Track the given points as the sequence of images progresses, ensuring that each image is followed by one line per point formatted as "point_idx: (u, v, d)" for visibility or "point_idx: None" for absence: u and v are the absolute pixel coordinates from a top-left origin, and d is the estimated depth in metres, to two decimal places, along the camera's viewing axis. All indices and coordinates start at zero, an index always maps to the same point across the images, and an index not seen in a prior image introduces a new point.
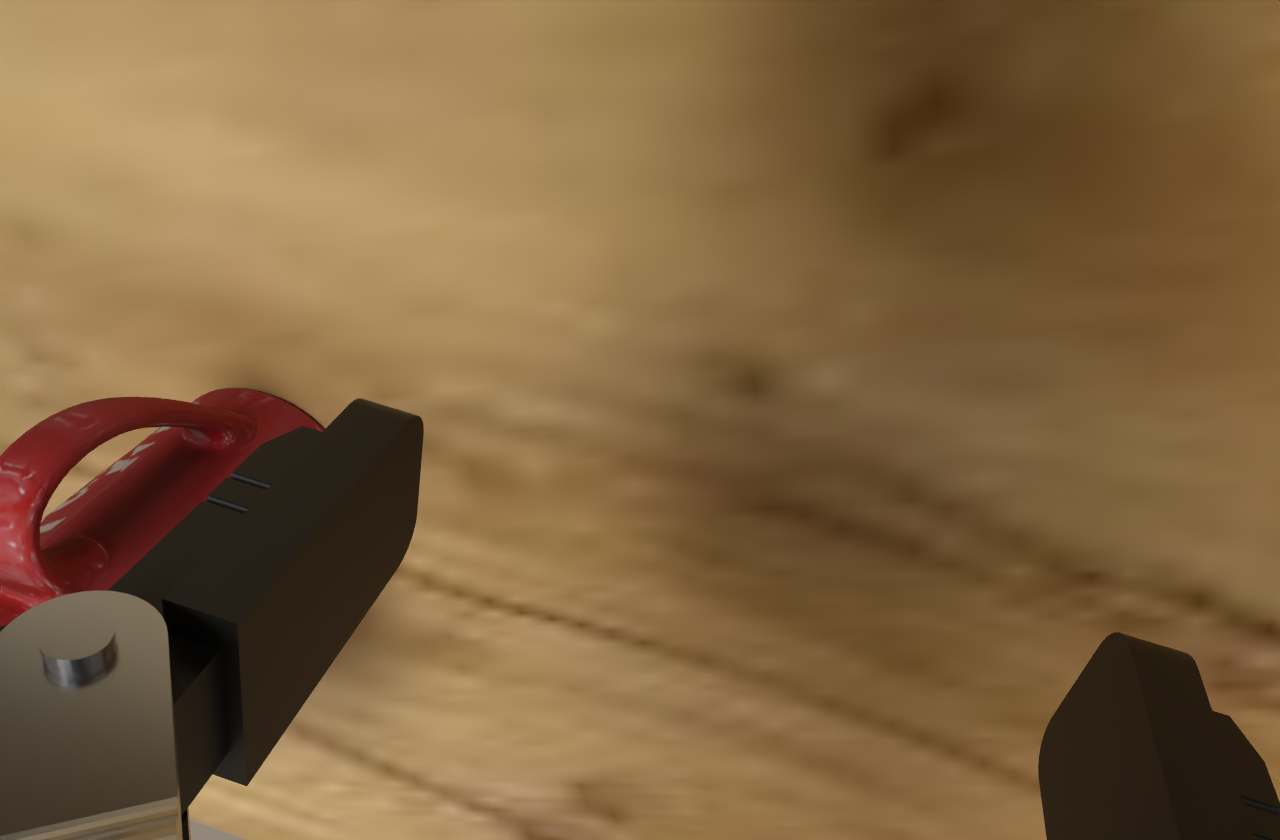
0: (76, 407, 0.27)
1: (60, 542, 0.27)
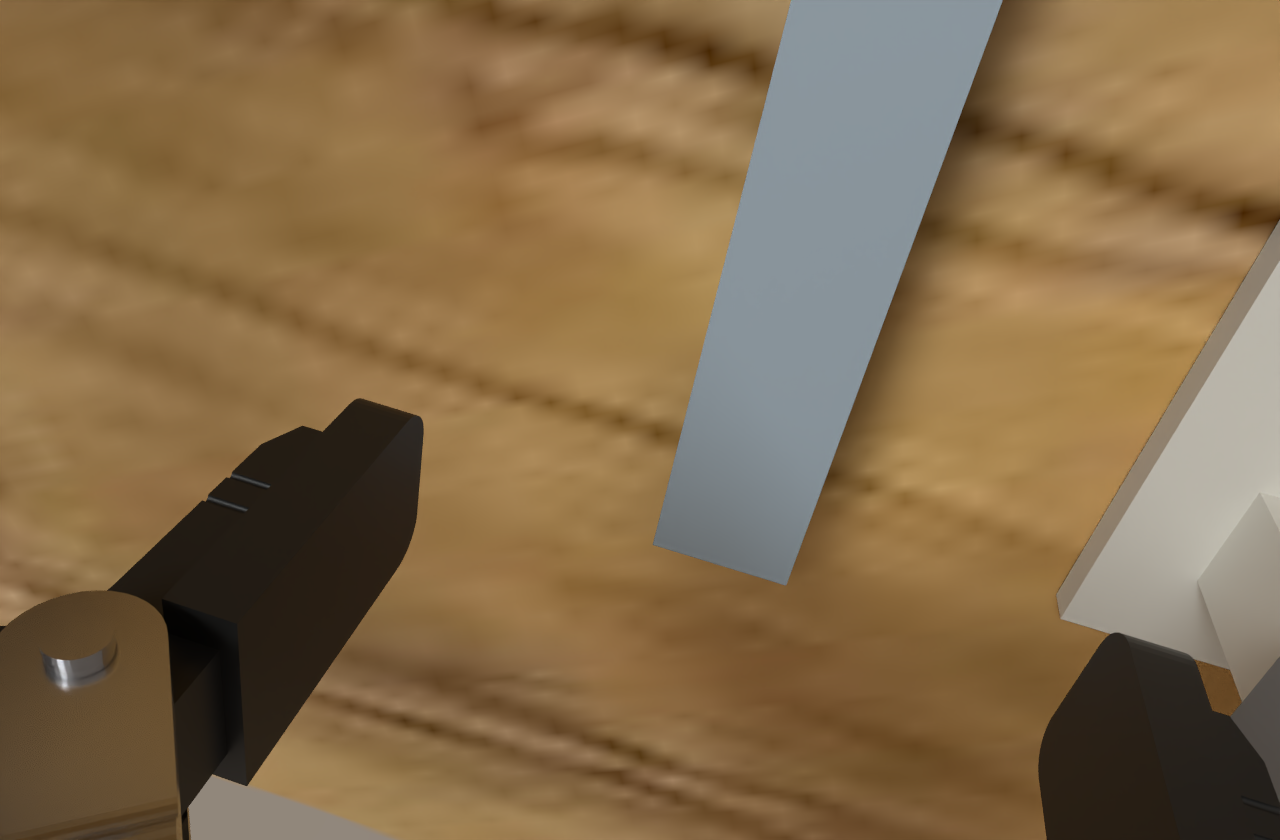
0: None
1: None
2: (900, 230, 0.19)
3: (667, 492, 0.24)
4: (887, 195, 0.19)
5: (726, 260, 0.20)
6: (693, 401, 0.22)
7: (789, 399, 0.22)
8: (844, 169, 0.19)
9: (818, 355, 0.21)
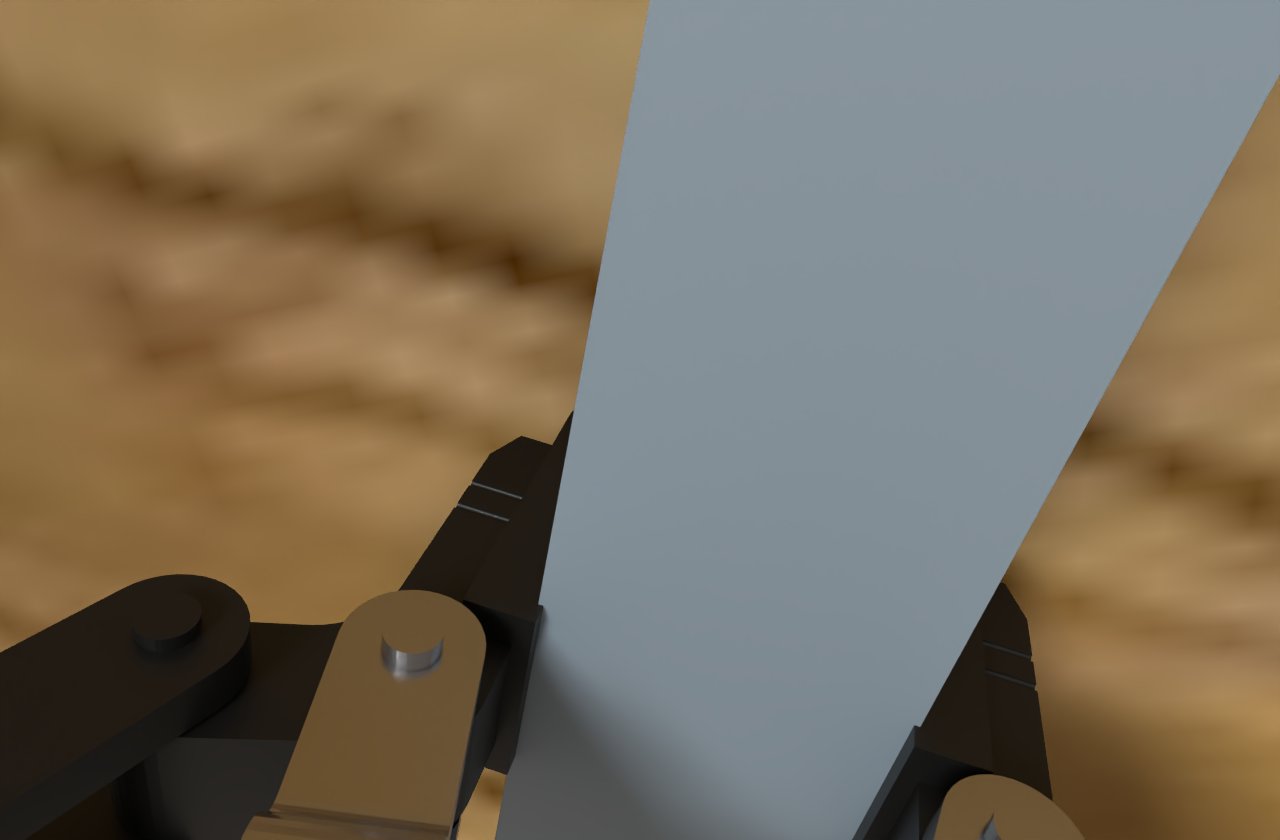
0: None
1: None
2: (866, 748, 0.09)
3: None
4: (837, 688, 0.08)
5: None
6: None
7: None
8: (742, 632, 0.08)
9: None
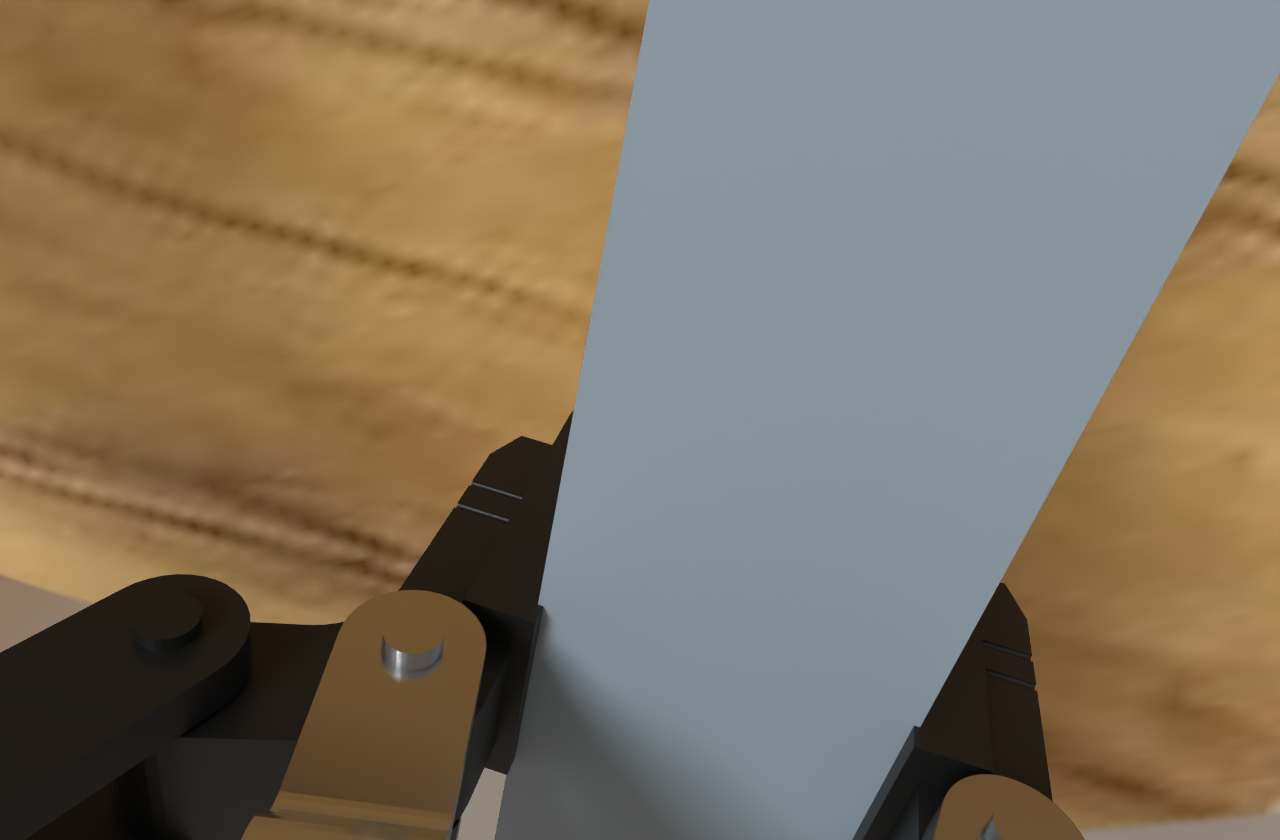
0: None
1: None
2: (863, 754, 0.09)
3: None
4: (834, 695, 0.08)
5: None
6: None
7: None
8: (740, 640, 0.08)
9: None
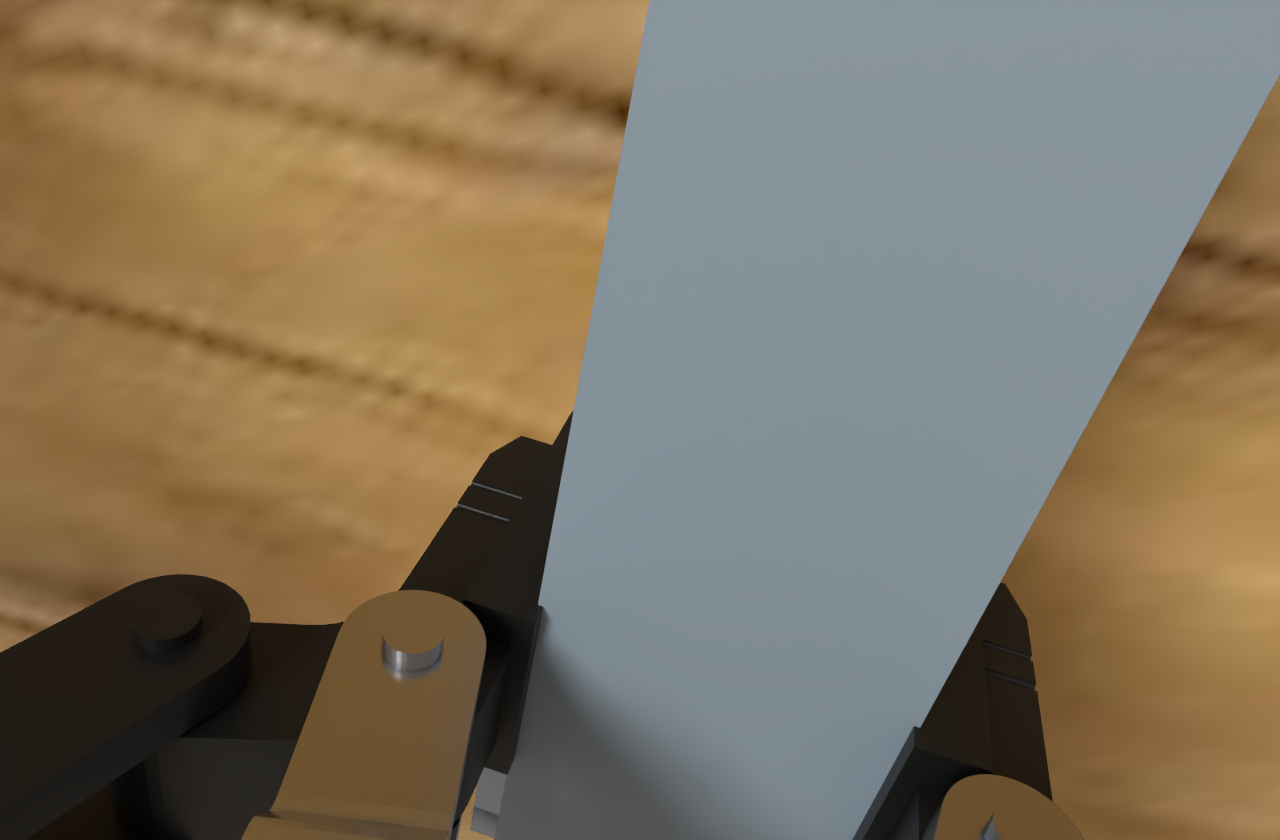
0: None
1: None
2: (863, 755, 0.09)
3: None
4: (834, 697, 0.08)
5: None
6: None
7: None
8: (739, 641, 0.08)
9: None
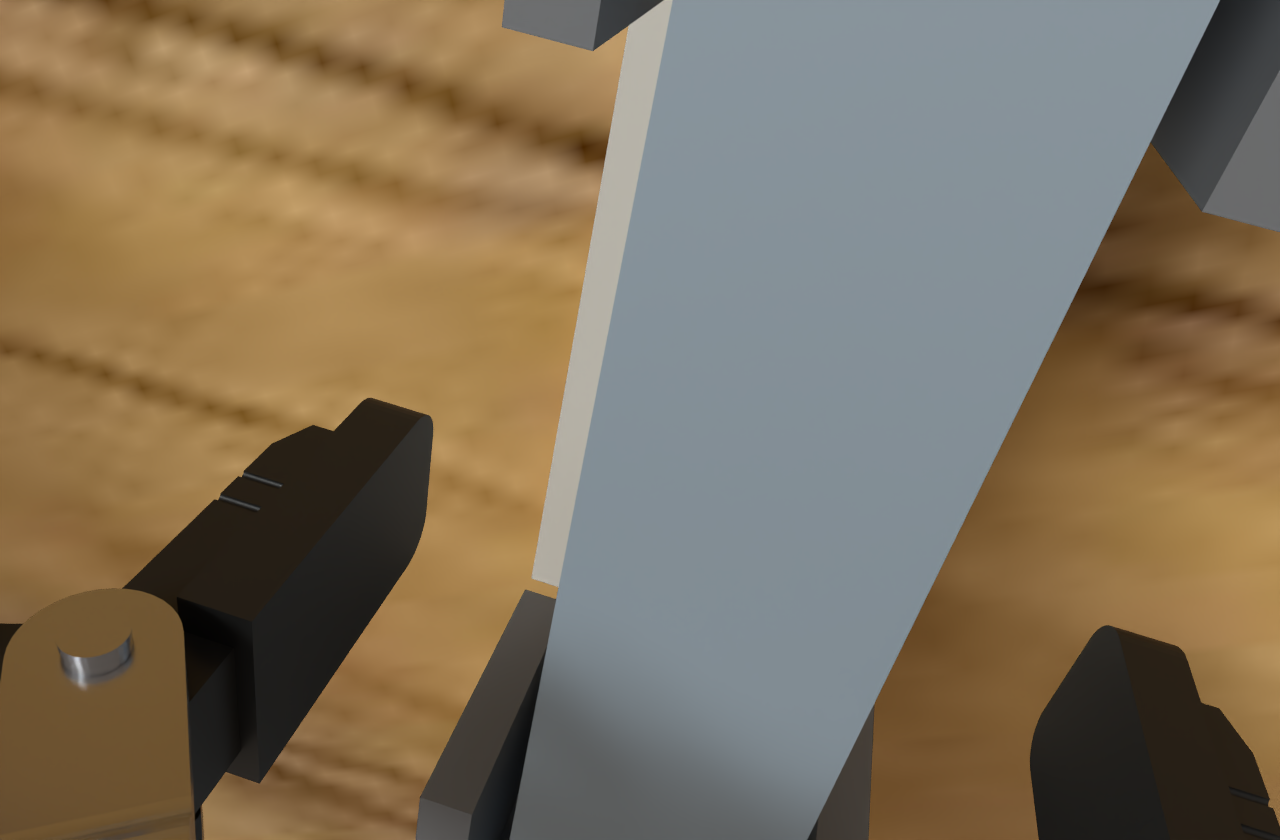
0: None
1: None
2: (864, 650, 0.10)
3: None
4: (838, 594, 0.09)
5: (547, 660, 0.11)
6: None
7: None
8: (754, 545, 0.09)
9: (721, 811, 0.12)
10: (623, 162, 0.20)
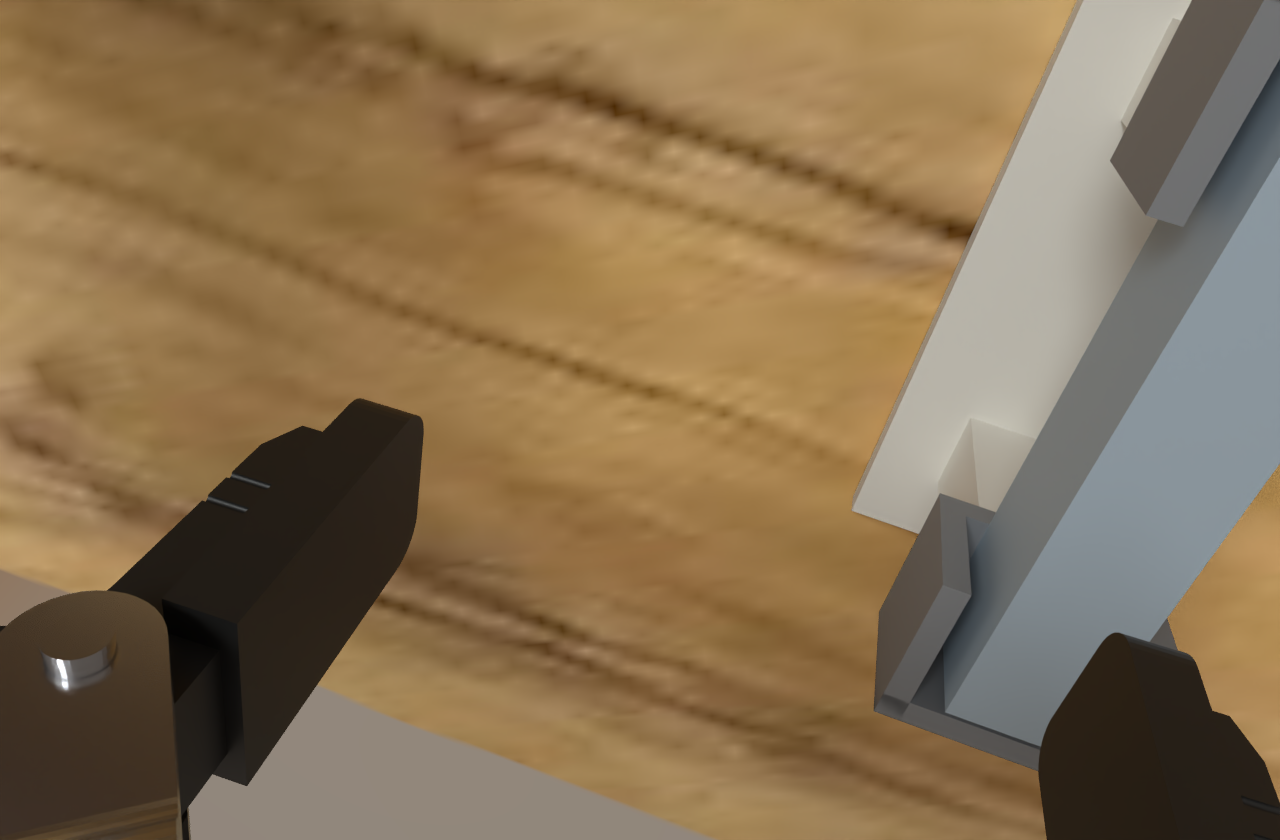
0: None
1: None
2: (1247, 483, 0.22)
3: (971, 670, 0.27)
4: (1242, 456, 0.22)
5: (1079, 492, 0.23)
6: (1016, 599, 0.25)
7: (1109, 606, 0.25)
8: (1208, 432, 0.22)
9: (1146, 573, 0.24)
10: (986, 241, 0.32)
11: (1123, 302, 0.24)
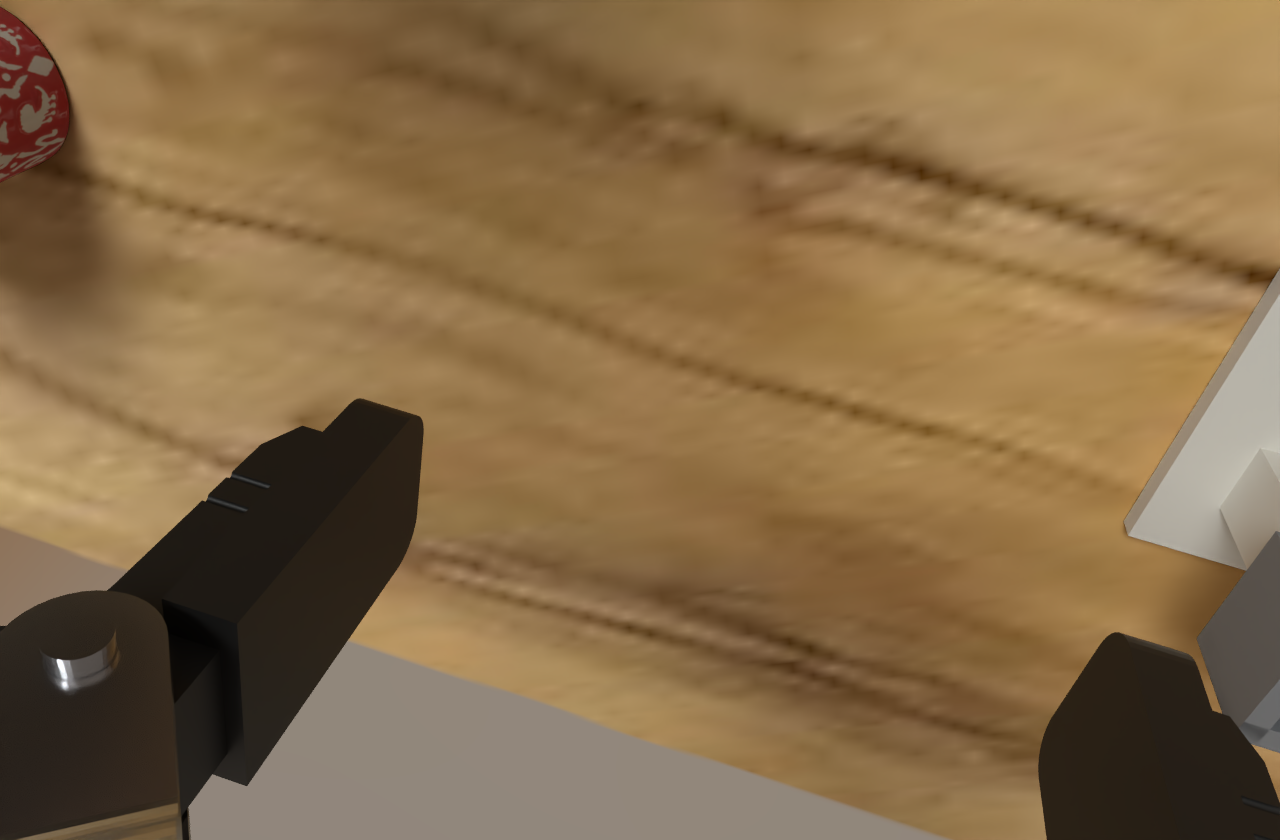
0: None
1: None
2: None
3: None
4: None
5: None
6: None
7: None
8: None
9: None
10: None
11: None
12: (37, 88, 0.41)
